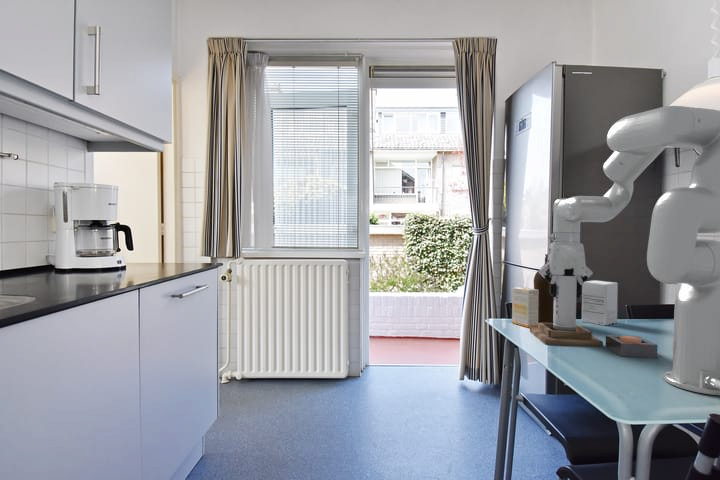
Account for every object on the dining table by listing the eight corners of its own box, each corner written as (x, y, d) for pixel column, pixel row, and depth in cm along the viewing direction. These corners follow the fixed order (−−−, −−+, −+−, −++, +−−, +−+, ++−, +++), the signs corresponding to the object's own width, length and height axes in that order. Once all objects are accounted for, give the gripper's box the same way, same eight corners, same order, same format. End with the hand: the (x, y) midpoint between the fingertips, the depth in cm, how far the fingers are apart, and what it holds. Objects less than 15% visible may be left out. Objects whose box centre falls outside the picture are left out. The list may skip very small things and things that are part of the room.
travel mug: (572, 327, 134) (574, 264, 133) (577, 332, 127) (579, 265, 127) (551, 325, 135) (552, 263, 135) (555, 330, 129) (556, 264, 129)
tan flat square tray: (602, 346, 122) (603, 334, 122) (545, 344, 124) (545, 332, 124) (580, 333, 138) (580, 322, 138) (529, 331, 140) (529, 321, 140)
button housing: (657, 358, 112) (657, 344, 112) (620, 356, 113) (621, 343, 113) (638, 348, 121) (639, 336, 121) (605, 347, 122) (605, 335, 122)
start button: (645, 350, 114) (645, 340, 114) (625, 349, 115) (625, 339, 115) (635, 345, 119) (635, 336, 119) (616, 345, 120) (616, 335, 120)
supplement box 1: (538, 327, 147) (539, 289, 147) (528, 328, 145) (528, 290, 145) (521, 322, 155) (522, 286, 155) (511, 323, 153) (511, 287, 153)
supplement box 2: (592, 318, 163) (593, 279, 163) (617, 323, 156) (618, 282, 155) (580, 321, 158) (581, 281, 157) (605, 326, 150) (606, 283, 150)
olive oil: (545, 326, 148) (547, 255, 148) (526, 320, 159) (528, 253, 158) (571, 325, 151) (573, 255, 151) (550, 319, 161) (552, 253, 161)
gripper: (540, 238, 128) (539, 297, 128) (601, 239, 126) (599, 299, 126) (533, 238, 135) (532, 294, 136) (590, 239, 133) (589, 295, 134)
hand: (564, 296), depth 131 cm, fingers closed on travel mug, 6 cm apart
